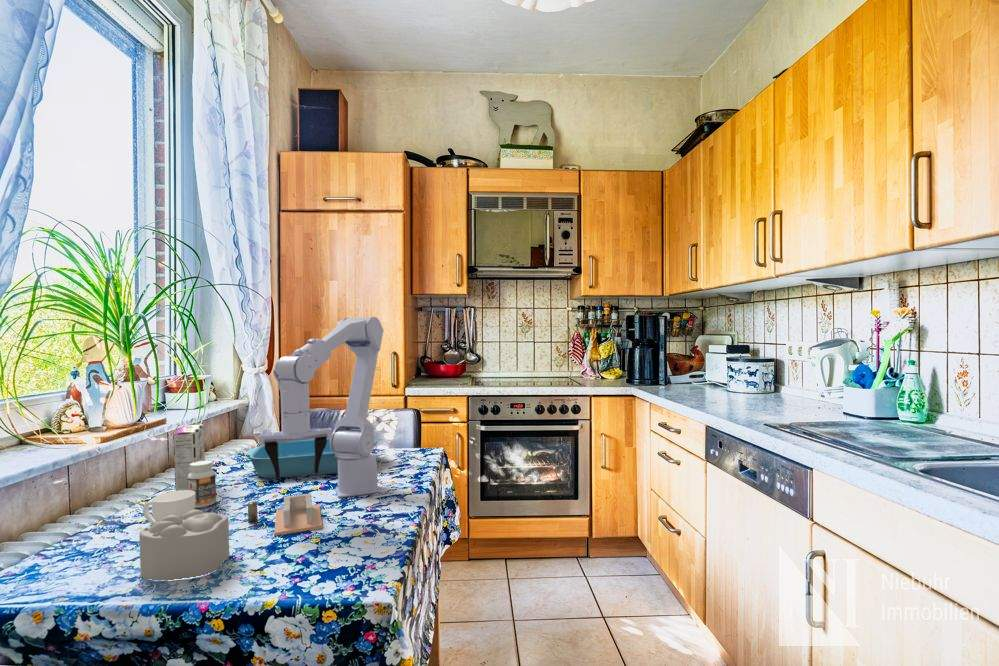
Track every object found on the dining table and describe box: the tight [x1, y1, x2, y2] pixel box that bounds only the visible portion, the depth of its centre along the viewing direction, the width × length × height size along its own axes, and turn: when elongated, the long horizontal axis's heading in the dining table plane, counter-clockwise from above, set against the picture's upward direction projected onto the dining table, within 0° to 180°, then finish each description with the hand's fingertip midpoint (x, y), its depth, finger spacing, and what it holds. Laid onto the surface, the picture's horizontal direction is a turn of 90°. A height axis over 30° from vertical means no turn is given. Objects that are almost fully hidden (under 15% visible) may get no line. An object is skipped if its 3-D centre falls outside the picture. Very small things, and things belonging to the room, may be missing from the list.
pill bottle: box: [187, 460, 217, 509], centre depth 121 cm, size 6×6×10 cm
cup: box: [142, 490, 196, 524], centre depth 107 cm, size 8×10×7 cm
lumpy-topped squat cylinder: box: [139, 508, 230, 580], centre depth 89 cm, size 10×13×9 cm
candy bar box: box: [172, 423, 206, 491], centre depth 131 cm, size 11×5×16 cm, turn 20°
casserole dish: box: [244, 438, 378, 479], centre depth 152 cm, size 37×22×7 cm, turn 103°
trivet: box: [273, 503, 323, 537], centre depth 110 cm, size 9×14×1 cm, turn 22°
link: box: [282, 493, 313, 527], centre depth 110 cm, size 6×10×3 cm, turn 22°
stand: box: [247, 501, 259, 524], centre depth 109 cm, size 2×2×4 cm
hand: (297, 474), depth 110 cm, fingers open, 7 cm apart
